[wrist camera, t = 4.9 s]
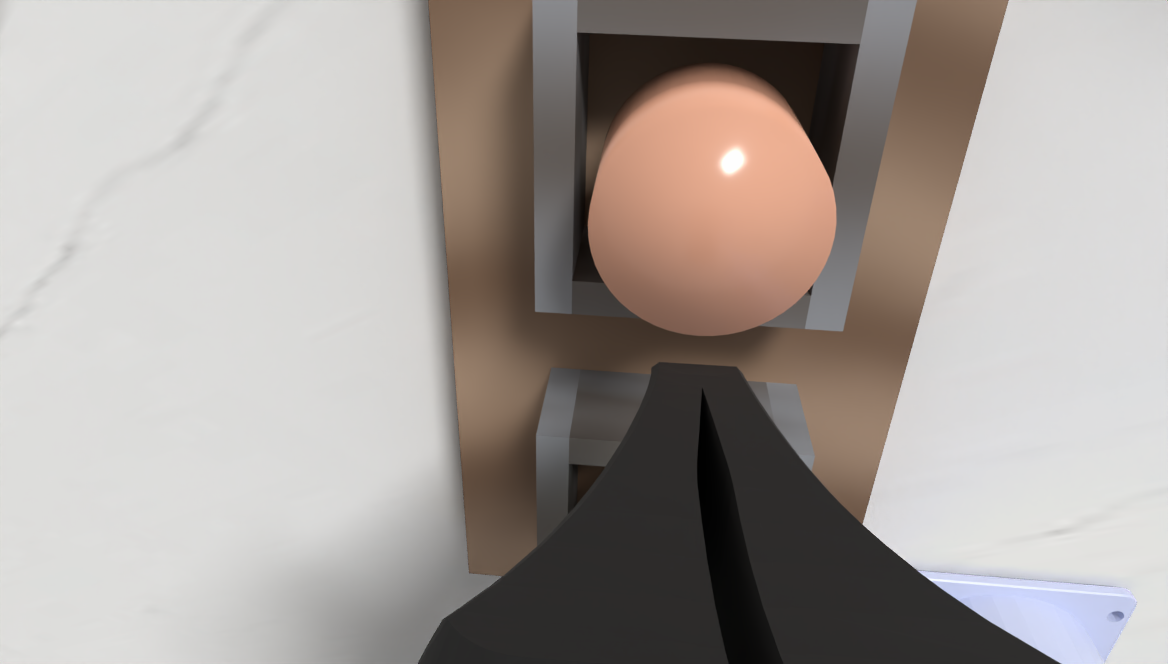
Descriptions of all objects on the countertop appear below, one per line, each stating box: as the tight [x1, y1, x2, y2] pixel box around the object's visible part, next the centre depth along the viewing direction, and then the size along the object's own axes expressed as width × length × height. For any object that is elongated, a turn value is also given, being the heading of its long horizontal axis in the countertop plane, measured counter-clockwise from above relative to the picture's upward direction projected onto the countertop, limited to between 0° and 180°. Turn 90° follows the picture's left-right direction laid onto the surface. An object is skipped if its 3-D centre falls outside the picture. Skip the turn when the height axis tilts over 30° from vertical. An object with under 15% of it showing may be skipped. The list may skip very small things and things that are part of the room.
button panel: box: [428, 0, 1009, 576], centre depth 20 cm, size 20×12×5 cm, turn 178°
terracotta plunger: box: [588, 63, 836, 336], centre depth 14 cm, size 4×4×3 cm
